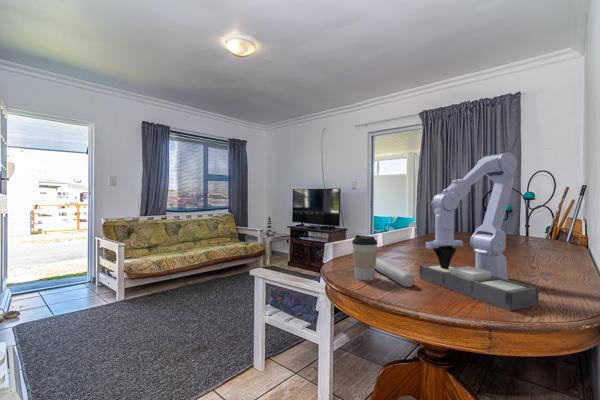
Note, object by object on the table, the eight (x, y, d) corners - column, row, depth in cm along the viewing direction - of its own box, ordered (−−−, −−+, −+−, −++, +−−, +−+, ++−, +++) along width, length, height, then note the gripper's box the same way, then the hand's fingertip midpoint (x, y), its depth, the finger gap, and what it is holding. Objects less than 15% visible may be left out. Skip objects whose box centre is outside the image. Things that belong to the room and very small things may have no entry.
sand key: (444, 271, 103) (444, 264, 103) (462, 277, 96) (462, 269, 96) (427, 273, 101) (427, 266, 101) (444, 279, 94) (444, 272, 94)
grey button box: (444, 275, 105) (444, 263, 105) (538, 305, 76) (538, 287, 76) (419, 278, 102) (419, 265, 102) (509, 310, 73) (509, 292, 72)
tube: (420, 276, 92) (385, 258, 116) (405, 271, 91) (373, 255, 116) (415, 292, 91) (381, 271, 116) (400, 287, 91) (369, 267, 115)
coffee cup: (382, 277, 104) (382, 235, 104) (369, 282, 97) (369, 238, 97) (360, 273, 110) (360, 233, 110) (347, 278, 103) (346, 236, 103)
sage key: (499, 287, 84) (499, 279, 84) (527, 296, 77) (527, 287, 77) (480, 290, 82) (480, 282, 82) (507, 299, 75) (507, 290, 75)
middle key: (468, 273, 94) (468, 266, 94) (491, 279, 87) (491, 271, 87) (451, 275, 91) (451, 268, 91) (472, 282, 84) (472, 274, 84)
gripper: (451, 226, 104) (451, 264, 105) (418, 228, 100) (419, 267, 100) (468, 228, 98) (468, 268, 98) (434, 230, 93) (434, 272, 93)
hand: (444, 268), depth 98 cm, fingers closed, pressing on sand key
